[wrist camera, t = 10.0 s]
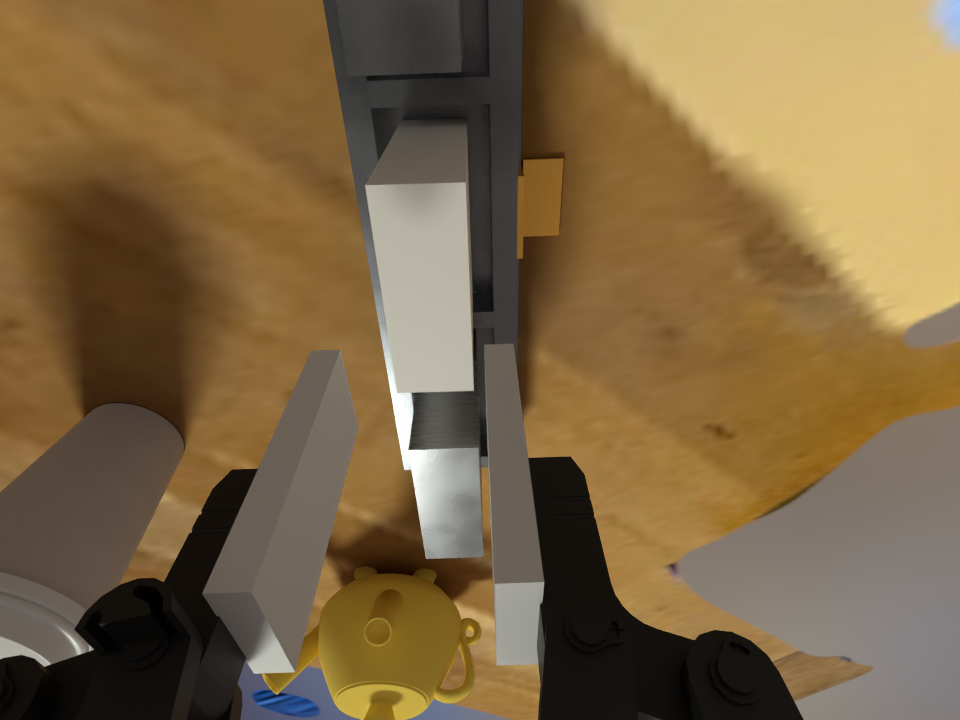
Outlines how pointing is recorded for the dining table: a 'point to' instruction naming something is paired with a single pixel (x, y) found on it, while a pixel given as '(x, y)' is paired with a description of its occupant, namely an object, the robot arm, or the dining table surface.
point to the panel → (425, 254)
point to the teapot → (387, 646)
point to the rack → (493, 210)
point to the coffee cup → (78, 525)
